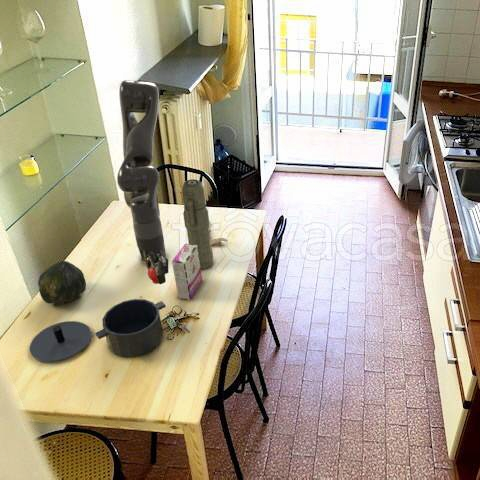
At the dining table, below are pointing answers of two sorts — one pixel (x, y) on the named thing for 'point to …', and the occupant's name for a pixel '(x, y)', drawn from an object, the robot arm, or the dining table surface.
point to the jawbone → (216, 241)
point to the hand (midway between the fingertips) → (157, 278)
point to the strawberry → (153, 274)
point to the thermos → (197, 221)
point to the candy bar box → (187, 271)
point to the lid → (60, 341)
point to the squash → (61, 283)
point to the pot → (132, 328)
